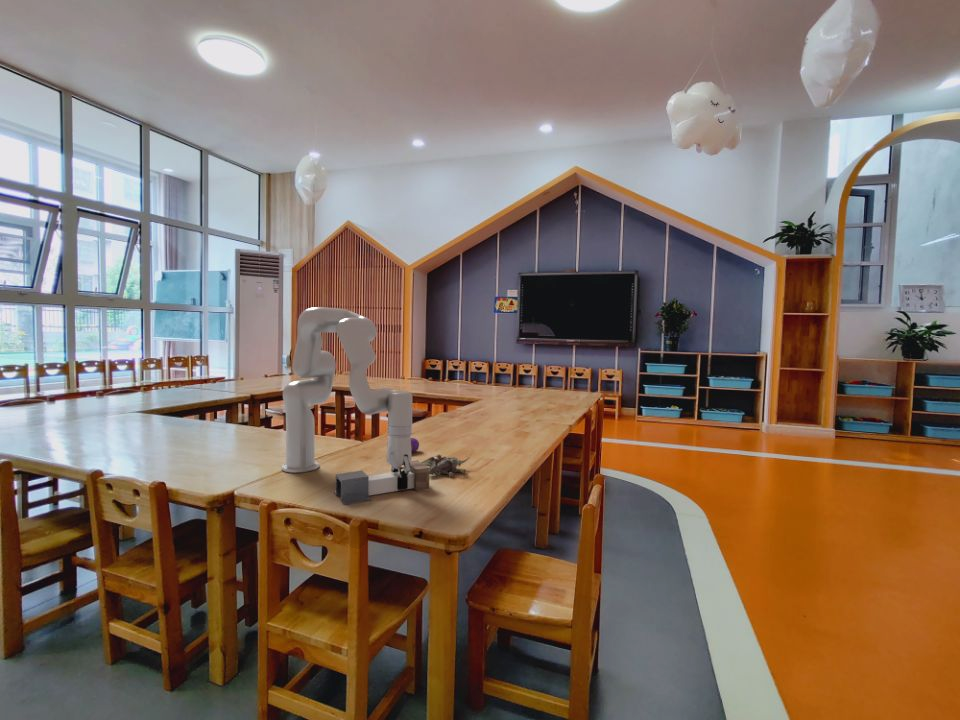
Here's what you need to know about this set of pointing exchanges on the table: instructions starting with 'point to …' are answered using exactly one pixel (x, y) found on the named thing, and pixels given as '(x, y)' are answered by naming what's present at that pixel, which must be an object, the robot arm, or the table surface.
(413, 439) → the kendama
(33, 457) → the table surface
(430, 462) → the figurine
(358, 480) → the sleeve
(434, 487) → the table surface
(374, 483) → the white block
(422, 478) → the socket block
